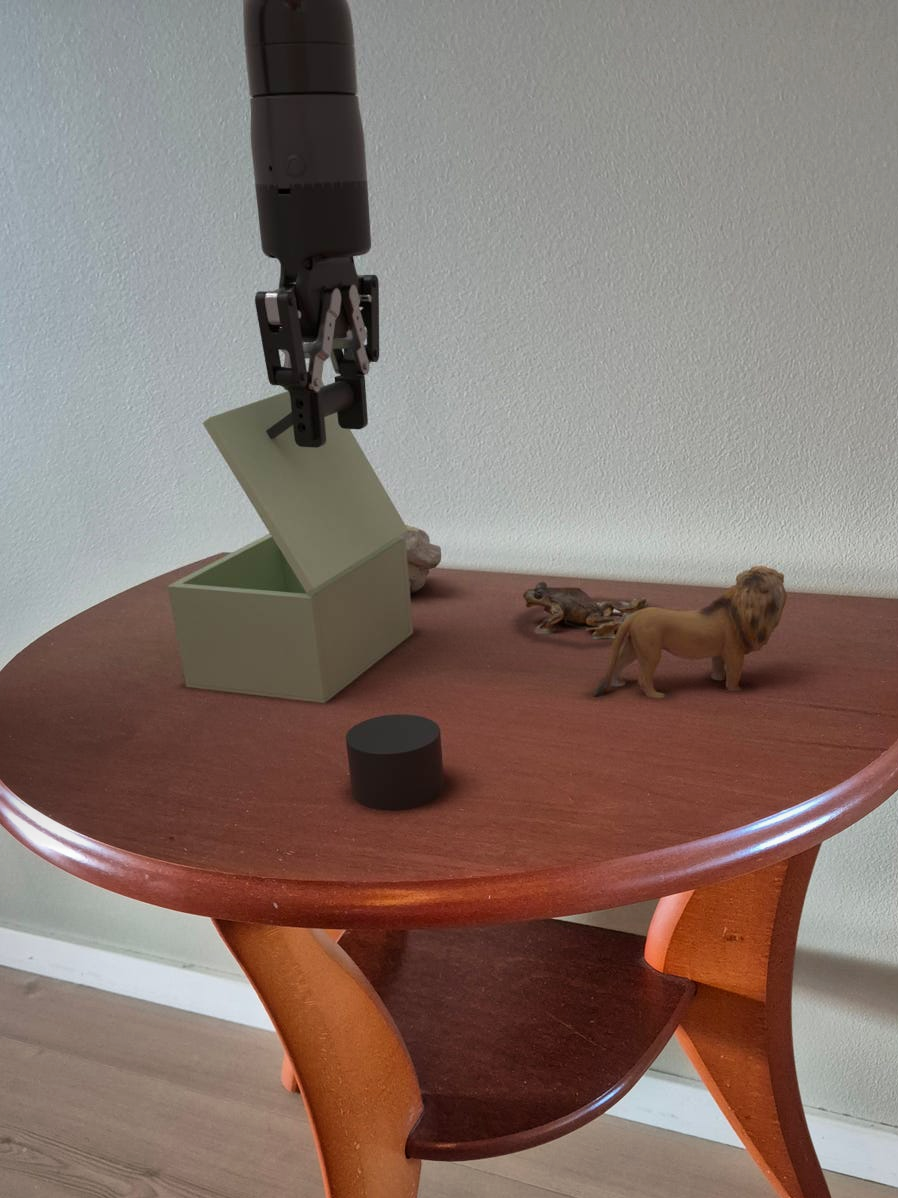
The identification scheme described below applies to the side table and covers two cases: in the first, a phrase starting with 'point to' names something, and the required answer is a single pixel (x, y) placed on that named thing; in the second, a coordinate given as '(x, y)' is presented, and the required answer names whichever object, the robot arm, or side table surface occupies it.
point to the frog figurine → (579, 610)
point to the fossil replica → (419, 556)
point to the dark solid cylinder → (395, 762)
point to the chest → (288, 622)
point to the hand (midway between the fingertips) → (332, 436)
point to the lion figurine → (702, 631)
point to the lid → (308, 485)
